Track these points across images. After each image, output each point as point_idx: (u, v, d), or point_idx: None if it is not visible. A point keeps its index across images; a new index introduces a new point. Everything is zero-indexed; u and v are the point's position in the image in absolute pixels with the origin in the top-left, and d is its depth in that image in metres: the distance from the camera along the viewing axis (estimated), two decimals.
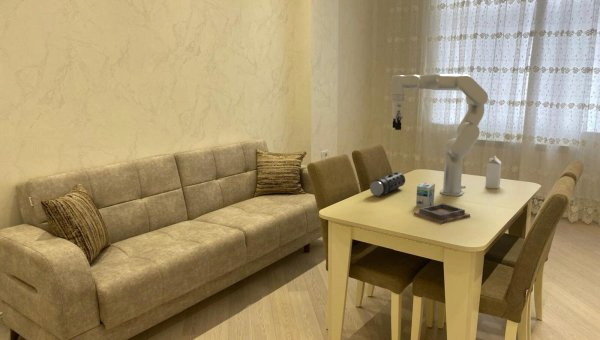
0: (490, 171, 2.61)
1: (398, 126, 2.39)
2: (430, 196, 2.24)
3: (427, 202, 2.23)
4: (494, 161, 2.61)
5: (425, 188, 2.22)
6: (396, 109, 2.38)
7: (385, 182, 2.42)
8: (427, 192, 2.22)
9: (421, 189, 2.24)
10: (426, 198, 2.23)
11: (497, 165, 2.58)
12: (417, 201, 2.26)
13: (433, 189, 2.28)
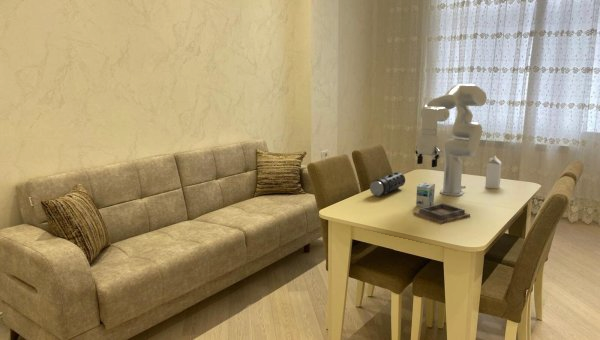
0: (490, 171, 2.61)
1: None
2: (430, 196, 2.24)
3: (427, 202, 2.23)
4: (494, 161, 2.61)
5: (425, 188, 2.22)
6: None
7: (385, 182, 2.42)
8: (427, 192, 2.22)
9: (421, 189, 2.24)
10: (426, 198, 2.23)
11: (497, 165, 2.58)
12: (417, 201, 2.26)
13: (433, 189, 2.28)
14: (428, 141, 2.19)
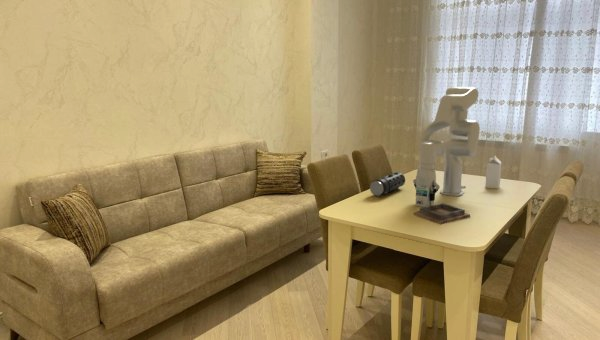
0: (490, 171, 2.61)
1: None
2: None
3: (426, 202, 2.23)
4: (494, 161, 2.61)
5: (424, 188, 2.22)
6: None
7: (385, 182, 2.42)
8: (426, 192, 2.22)
9: (421, 189, 2.24)
10: (425, 198, 2.23)
11: (497, 165, 2.58)
12: (417, 201, 2.26)
13: None
14: (426, 175, 2.22)
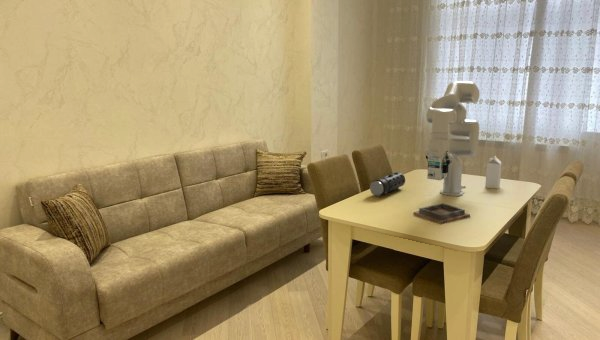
0: (490, 171, 2.61)
1: None
2: (442, 168, 2.08)
3: (439, 174, 2.07)
4: (494, 161, 2.61)
5: (437, 159, 2.07)
6: None
7: (385, 182, 2.42)
8: (439, 163, 2.06)
9: (433, 160, 2.08)
10: (438, 170, 2.07)
11: (497, 165, 2.58)
12: (428, 173, 2.10)
13: None
14: (439, 145, 2.06)
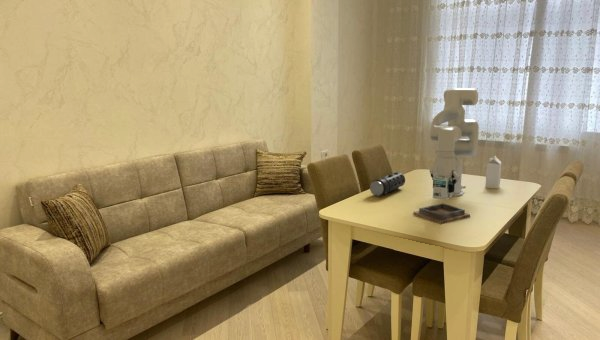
0: (490, 171, 2.61)
1: None
2: (448, 187, 2.03)
3: (445, 194, 2.02)
4: (494, 161, 2.61)
5: (443, 178, 2.01)
6: None
7: (385, 182, 2.42)
8: (445, 183, 2.01)
9: (438, 179, 2.03)
10: (444, 189, 2.02)
11: (497, 165, 2.58)
12: (434, 193, 2.05)
13: None
14: (445, 164, 2.01)
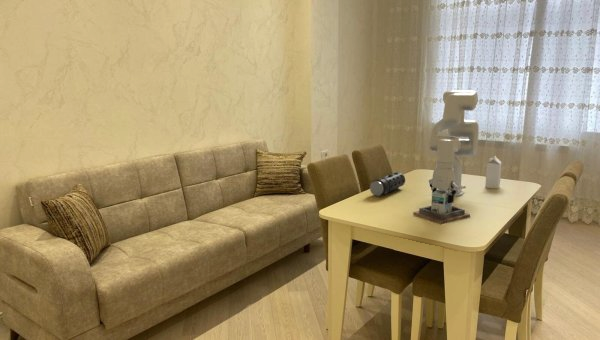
0: (490, 171, 2.61)
1: None
2: (447, 203, 2.05)
3: (443, 210, 2.04)
4: (494, 161, 2.61)
5: (441, 195, 2.04)
6: None
7: (385, 182, 2.42)
8: (443, 199, 2.03)
9: (436, 196, 2.05)
10: (442, 206, 2.04)
11: (497, 165, 2.58)
12: (432, 209, 2.07)
13: None
14: (444, 175, 2.02)
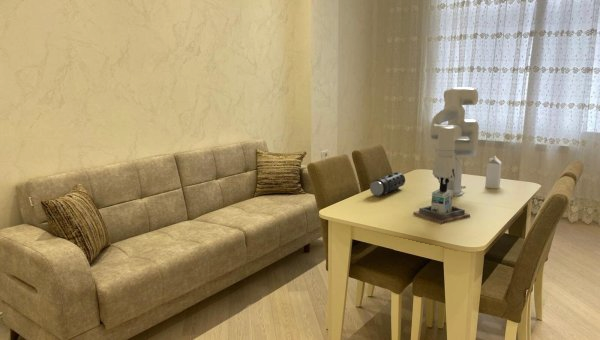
0: (490, 171, 2.61)
1: None
2: (447, 203, 2.05)
3: (443, 210, 2.04)
4: (494, 161, 2.61)
5: (441, 195, 2.04)
6: None
7: (385, 182, 2.42)
8: (443, 199, 2.03)
9: (436, 196, 2.05)
10: (442, 206, 2.04)
11: (497, 165, 2.58)
12: (432, 209, 2.07)
13: (451, 196, 2.09)
14: (445, 163, 2.01)
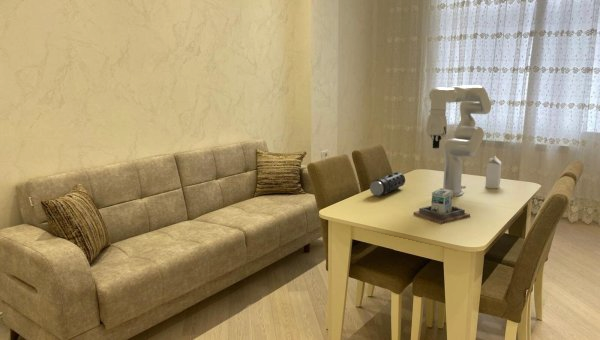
0: (490, 171, 2.61)
1: None
2: (447, 203, 2.05)
3: (443, 210, 2.04)
4: (494, 161, 2.61)
5: (441, 195, 2.04)
6: None
7: (385, 182, 2.42)
8: (443, 199, 2.03)
9: (436, 196, 2.05)
10: (442, 206, 2.04)
11: (497, 165, 2.58)
12: (432, 209, 2.07)
13: (451, 196, 2.09)
14: (437, 121, 2.23)
